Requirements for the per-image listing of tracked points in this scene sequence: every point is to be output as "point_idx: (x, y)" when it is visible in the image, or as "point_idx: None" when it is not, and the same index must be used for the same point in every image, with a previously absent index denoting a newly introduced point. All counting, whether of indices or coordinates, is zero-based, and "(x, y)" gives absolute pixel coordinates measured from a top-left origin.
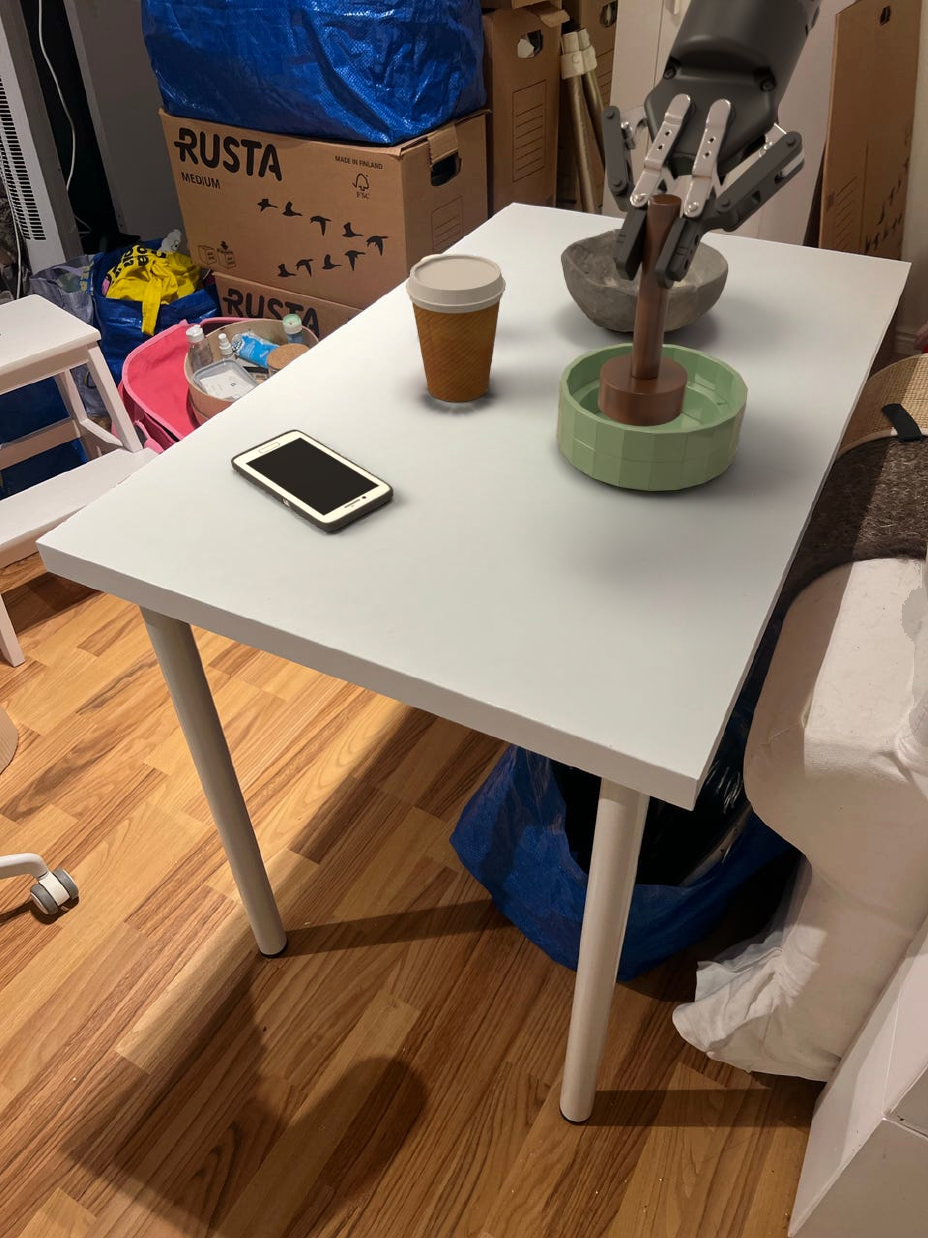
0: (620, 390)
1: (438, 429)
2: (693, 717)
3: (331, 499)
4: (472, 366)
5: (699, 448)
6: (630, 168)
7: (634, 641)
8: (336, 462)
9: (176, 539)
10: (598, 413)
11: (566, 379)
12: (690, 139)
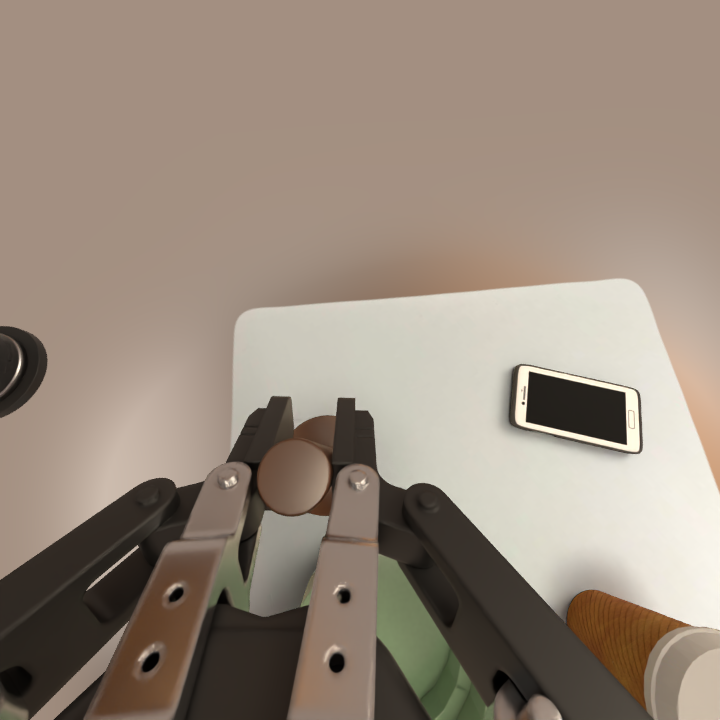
0: (333, 416)
1: (554, 536)
2: (245, 342)
3: (539, 389)
4: (593, 624)
5: (312, 582)
6: (449, 625)
7: (295, 379)
8: (574, 430)
9: (586, 316)
10: (447, 650)
11: None
12: (252, 689)
